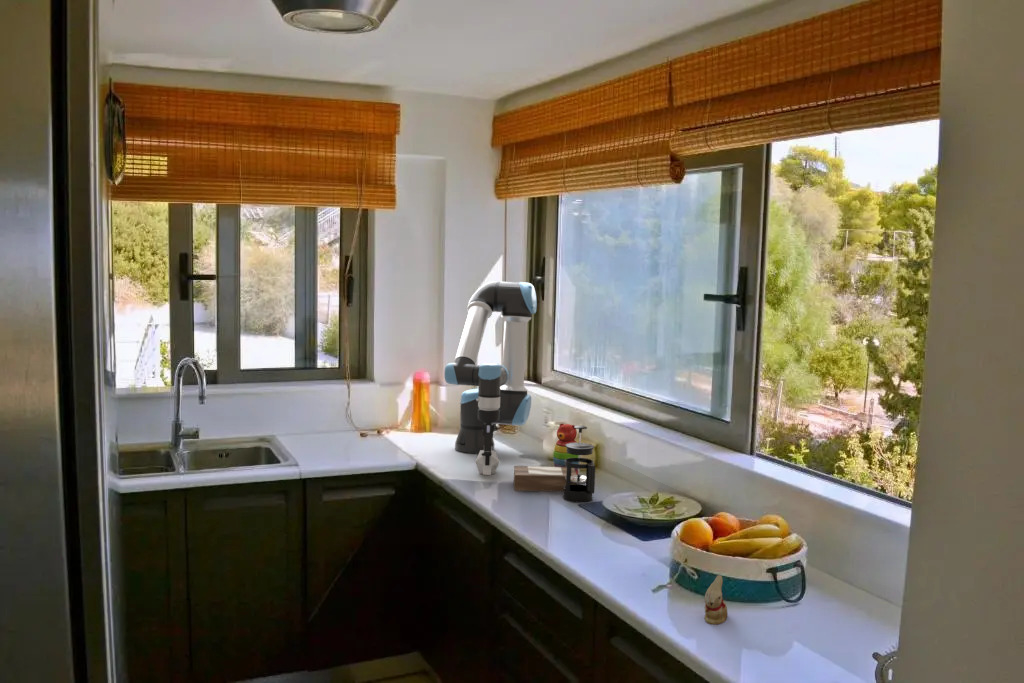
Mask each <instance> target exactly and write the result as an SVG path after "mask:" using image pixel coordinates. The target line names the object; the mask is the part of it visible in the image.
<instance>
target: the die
mask: <svg viewBox="0 0 1024 683" xmlns="http://www.w3.org/2000/svg"><path fill="white" fill-rule="evenodd" d="M486 452H489V451H486ZM496 452H497V451H496V450H493V451H491V453H492V457H491V475H495V474H496V471H497V469H498V468H499V467H498V466H499V465H500V460H499V458H498V454H497V453H496ZM482 453H484V450H480V452H479V453H477V454H478V455H477V457H476V459H475V462H474V463H475V465H476V469H477V471H478V474H479V475H483V456H482Z"/></svg>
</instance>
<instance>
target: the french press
mask: <svg viewBox="0 0 1024 683" xmlns="http://www.w3.org/2000/svg"><path fill="white" fill-rule="evenodd" d="M574 428H576V430H578V433H579V442H577V443H568V444H566V445H565V446H566V447H567V453H569V454H572V455H579V458H568V459H565V466H567V476H566V477H565V479H566V486H564V491H563V495H562V499H563V500H565V501H567V502H571V503H588V502H591V501H593V499H594V497H593V495H594V494H595V486H596V485H595V483H596V482H595V481H596V465H595V464H594V462H595V461H594V460H593V459H590V458H584V457H581V456H589V455H592V454H593V453H594V452H593V450H594V448H595V446H594V445H593V444H591V443H586V442H581V440H582V438H581V436H582V433H583V430H587V429H588V427H587V426H585V425H575V427H574ZM572 462H579V464H572ZM581 463H582V464H581ZM583 463H586V464H583ZM572 468H578V475H571V469H572ZM580 469H581V470H582V469H586V473H585V475H580ZM571 483H577V484H571Z"/></svg>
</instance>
